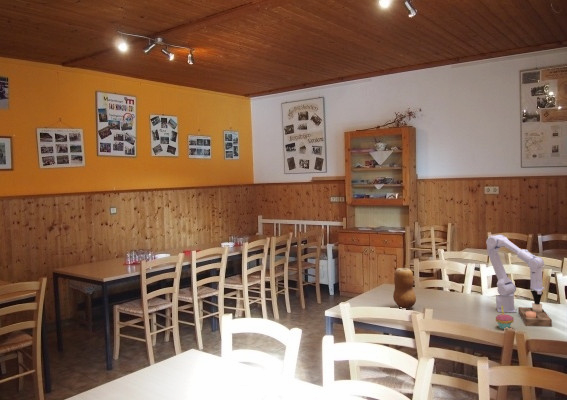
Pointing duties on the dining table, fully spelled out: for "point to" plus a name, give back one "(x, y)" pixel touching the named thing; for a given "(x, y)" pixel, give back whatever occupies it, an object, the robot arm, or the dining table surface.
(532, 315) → the terracotta button
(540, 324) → the wooden compartment tray
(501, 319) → the cupcake
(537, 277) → the robot arm
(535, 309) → the cream button
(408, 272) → the butternut squash
